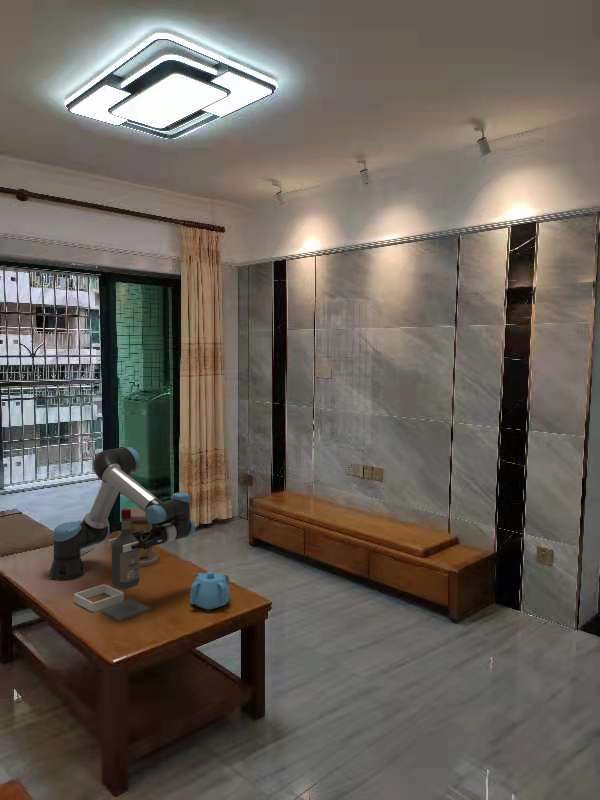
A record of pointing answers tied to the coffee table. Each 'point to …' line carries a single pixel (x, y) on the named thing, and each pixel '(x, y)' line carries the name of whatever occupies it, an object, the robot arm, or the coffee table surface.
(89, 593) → the bottle holder
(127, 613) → the slate coaster
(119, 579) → the liquor
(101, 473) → the robot arm
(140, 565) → the hourglass
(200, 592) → the decorative pot
